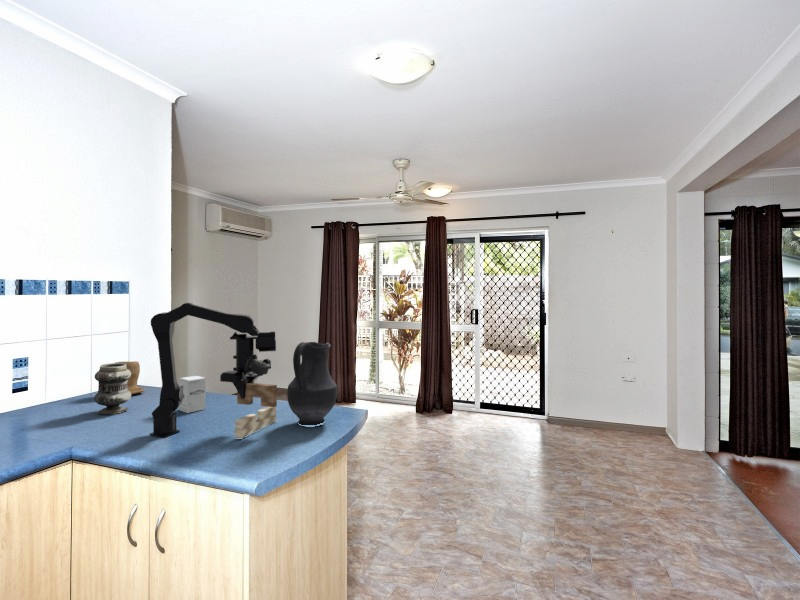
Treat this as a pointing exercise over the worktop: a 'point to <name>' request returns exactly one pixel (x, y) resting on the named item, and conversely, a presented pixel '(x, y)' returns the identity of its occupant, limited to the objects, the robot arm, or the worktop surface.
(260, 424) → the birch rail
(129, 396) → the apothecary jar
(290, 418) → the worktop surface
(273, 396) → the walnut bar
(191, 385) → the supplement box
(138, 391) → the curved wooden stand
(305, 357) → the pitcher
